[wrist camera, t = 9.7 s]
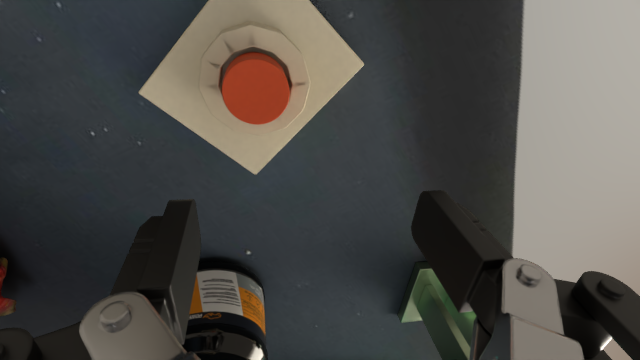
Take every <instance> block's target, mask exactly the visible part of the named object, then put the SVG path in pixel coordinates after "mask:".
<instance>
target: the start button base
mask: <svg viewBox="0 0 640 360" xmlns="http://www.w3.org/2000/svg"><path fill="white" fill-rule="evenodd" d="M248 52H259V53H263V54H266V55H268V56H270V57H272V58H273V59H274V60H276V61H277V62H278V63H279V64H280V66H281V67H282V69H283V71H284V73H285V76H286V79H287V81H288V85H289V90H290V97H289V102H288V105H287V107H286V109H285V110H284V112H283V113H282V114H281V115H280V116H279V117H278V118H277V119H275V120H273V121H271V122H269V123H266V124H259V125H255V124H249V123H246V122H243V121H241V120H239V119H238V118H236V117H235V116H234V115H233V114H232V113H231V112H230V111H229V110H228V108H227V107H226V105H225V103H224V100H223V96H222V84H223V79H224V75H225V72H226V69H227V67H228V66H229V64H230V63H231V62H232V61H233V60H234V59H235V58H236V57H238V56H239V55H242V54H244V53H248ZM363 66H364V63H363V62H362V61H361V60H360V58H359V57H358V56H357V55H356V54H355V53H354V51H353V50H352V49H351V48H350V47H349V46H348V45H347V43H346V42H345V41H344V40H343V39H342V38H341V36H340V35H339V34H338V33H337V32H336V31H335V29H334V28H333V27H332V26H331V25H330V24H329V23H328V21H327V20H326V19H325V18H324V17H323V16H322V14H321V13H320V12H319V11H318V10H317V9H316V8H315V6H314V5H313V4H312V3H311V2H310V1H309V0H208V2H207V3H206V4H205V6H204V7H203V8H202V10H201V11H200V12H199V13H198V15H197V16H196V17H195V19H194V20H193V21H192V23H191V24H190V25H189V27H188V28H187V29H186V30H185V32H184V33H183V34H182V36H181V37H180V38H179V40H178V41H177V42H176V44H175V45H174V46H173V47H172V49H171V50H170V51H169V53H168V54H167V55H166V57H165V58H164V59H163V60H162V62H161V63H160V64H159V66H158V67H157V68H156V70H155V71H154V72H153V74H152V75H151V76H150V77H149V79H148V80H147V81H146V83H145V84H144V85H143V87H142V88H141V89H140V91H139V94H140V95H142V96H143V97H145V98H146V99H148V100H149V101H150V102H152V103H153V104H155V105H156V106H158V107H159V108H160V109H162V110H163V111H165V112H166V113H168V114H169V115H170V116H172V117H173V118H175V119H176V120H178V121H179V122H180V123H182V124H183V125H185V126H186V127H188V128H189V129H190V130H192V131H193V132H195V133H196V134H198V135H199V136H200V137H202V138H203V139H205V140H206V141H208V142H209V143H210V144H212V145H213V146H215V147H216V148H218V149H219V150H220V151H222V152H223V153H225V154H226V155H228V156H229V157H230V158H232V159H233V160H235V161H236V162H238V163H239V164H240V165H242V166H243V167H245V168H246V169H248V170H249V171H250V172H252V173H253V174H255V175H256V174H257V173H258V172H259V171H260V170H261V169H262V168H263V167H264V166H265V165H266V164H267V163H268V162H269V161H270V160H271V159H272V158H273V157H274V156H275V155H276V154H277V153H278V152H279V151H280V150H281V149H282V148H283V147H284V146H285V145H286V144H287V143H288V142H289V141H290V140H291V139H292V138H293V137H294V136H295V135H296V134H297V133H298V132H299V131H300V129H301V128H302V127H303V126H304V125H305V124H306V123H307V122H308V121H309V120H310V119H311V118H312V117H313V116H314V115H315V114H316V113H317V112H318V111H319V110H320V109H321V108H322V107H323V106H324V105H325V104H326V103H327V102H328V101H329V100H330V99H331V98H332V97H333V96H334V95H335V94H336V93H337V92H338V91H339V90H340V89H341V88H342V87H343V86H344V85H345V84H346V83H347V82H348V81H349V80H350V79H351V78H352V77H353V76H354V75H355V74H356V73H357V72H358V71H359V70H360V69H361V68H362V67H363Z"/></svg>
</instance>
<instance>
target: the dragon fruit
mask: <svg viewBox="0 0 640 360" xmlns="http://www.w3.org/2000/svg"><path fill="white" fill-rule="evenodd" d="M7 265H8V261H7V259H5V258H0V316H4V315H8V314H10V313H13V312H15V311H16V308H15V305H16V300H12V299H9V298H3V296H1V289H2V283H3V279H4V278H5V276H6V272H7Z"/></svg>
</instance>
